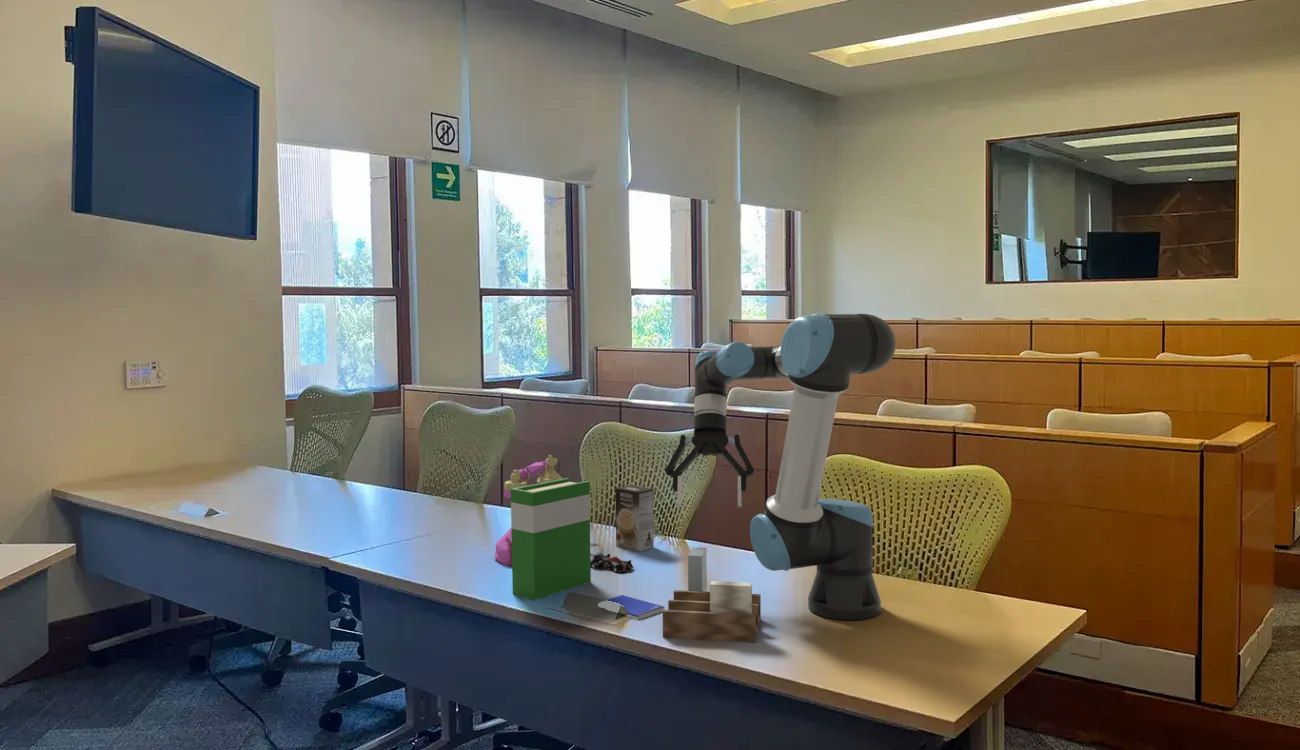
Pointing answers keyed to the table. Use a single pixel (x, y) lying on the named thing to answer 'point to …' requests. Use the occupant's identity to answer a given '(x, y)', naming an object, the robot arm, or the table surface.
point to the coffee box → (634, 517)
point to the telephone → (505, 542)
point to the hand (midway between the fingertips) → (709, 505)
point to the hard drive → (637, 606)
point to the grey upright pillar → (697, 569)
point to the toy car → (610, 563)
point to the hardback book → (550, 537)
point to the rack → (714, 613)
